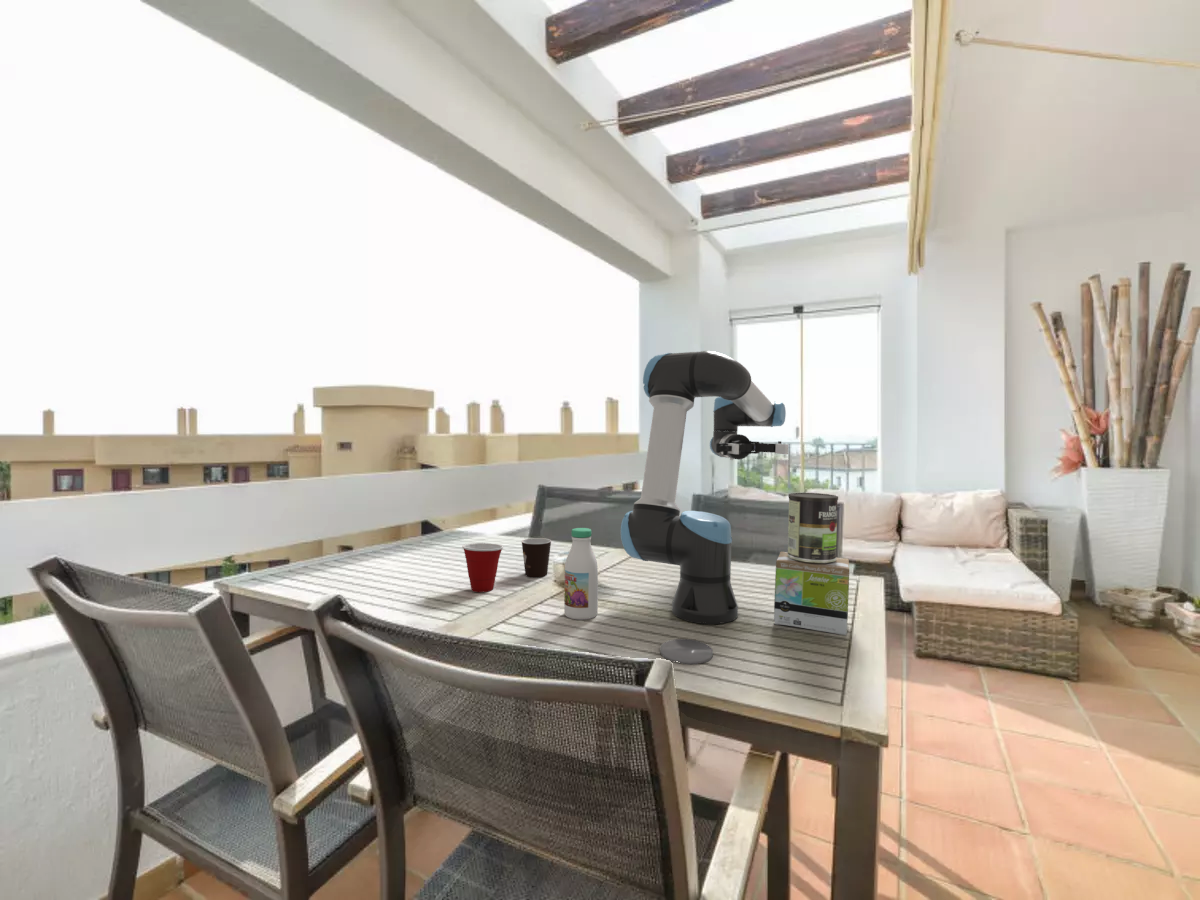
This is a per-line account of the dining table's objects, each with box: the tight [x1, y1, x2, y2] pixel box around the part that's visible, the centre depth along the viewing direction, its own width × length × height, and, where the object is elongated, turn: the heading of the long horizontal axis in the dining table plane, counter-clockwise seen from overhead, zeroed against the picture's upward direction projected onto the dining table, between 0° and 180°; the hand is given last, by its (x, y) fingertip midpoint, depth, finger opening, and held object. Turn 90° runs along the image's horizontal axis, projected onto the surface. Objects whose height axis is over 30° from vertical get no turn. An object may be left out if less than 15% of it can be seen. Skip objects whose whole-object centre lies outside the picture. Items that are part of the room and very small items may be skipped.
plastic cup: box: [462, 542, 504, 593], centre depth 145 cm, size 11×11×12 cm
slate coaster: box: [659, 638, 714, 665], centre depth 105 cm, size 10×10×1 cm
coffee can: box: [787, 492, 839, 563], centre depth 121 cm, size 10×10×14 cm
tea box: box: [773, 551, 850, 636], centre depth 121 cm, size 15×10×15 cm
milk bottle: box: [563, 527, 599, 621], centre depth 126 cm, size 8×8×20 cm
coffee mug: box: [521, 537, 552, 579], centre depth 162 cm, size 12×9×10 cm
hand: (762, 449), depth 145 cm, fingers open, 13 cm apart
